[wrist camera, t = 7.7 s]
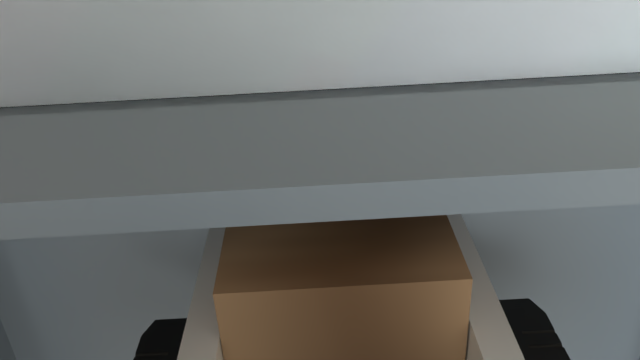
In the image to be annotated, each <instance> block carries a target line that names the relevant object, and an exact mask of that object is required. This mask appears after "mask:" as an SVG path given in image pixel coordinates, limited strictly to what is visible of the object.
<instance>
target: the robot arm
mask: <svg viewBox="0 0 640 360" xmlns="http://www.w3.org/2000/svg"><path fill="white" fill-rule="evenodd" d="M447 217H448V219H449V222H450V224H451V227H452V229H453V232H454V234H455V236H456V239H457V241H458V244H459V246H460V249H461V251H462V254H463V256H464V259H465V261H466V264H467V266H468V269H469V271H470V273H471V276H472V278H473V282H472V293H471V303H470V314H469V325H468V335H467V346H466V356H465V360H570V358H569V356H568V354H567V352H566V350H565V348H564V347H562V343H561V341H560V339H559V337H558V335H557V333H555V329H554V327H553V326H552V324H551V322H550V320H549V318H548V316H547V314H546V313H545V312H544V311H543V310H542V309H541V308H540V307H539V306H537V305H536V304H535V303H534V302H533V301H532V300H530V299H529V298H525V299H506V300H499V299H498V297H497V295H496V293H495V290H494V288H493V286H492V284H491V281H490V279H489V277H488V274H487V272H486V270H485V268H484V265H483V263H482V261H481V258H480V256H479V254H478V252H477V249H476V247H475V245H474V243H473V240H472V238H471V236H470V233H469V231H468V229H467V227H466V224H465V222H464V220H463V217H462V215H461V214H453V215H447ZM225 228H226V227H222V228H209V232H208V236H207V240H206V244H205V248H204V252H203V256H202V260H201V264H200V268H199V272H198V276H197V280H196V284H195V288H194V292H193V296H192V300H191V304H190V308H189V312H188V316H187V318H178V319H159V320H155V321H154V322H153V323H152V324H151V325H150V326H149V327H148V329H147V330H146V331H145V332H144V333H143V334H142V335H141V338H140V341H139V344H138V347H137V350H136V353H135V357H134V359H133V360H224V357H223V351H222V345H221V340H220V334H219V328H218V322H217V317H216V311H215V305H214V299H213V290H214V285H215V279H216V274H217V269H218V264H219V259H220V254H221V248H222V243H223V238H224V233H225Z"/></svg>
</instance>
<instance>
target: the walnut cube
mask: <svg viewBox="0 0 640 360" xmlns="http://www.w3.org/2000/svg"><path fill="white" fill-rule="evenodd" d="M472 282H473V278H472V276H471V273H470V271H469V269H468V266H467V264H466V261H465V259H464V256H463V254H462V251H461V249H460V246H459V244H458V241H457V239H456V236H455V234H454V232H453V229H452V227H451V224H450V222H449V219H448V217H447V215H435V216H418V217H400V218H382V219H364V220H346V221H329V222H311V223H293V224H275V225H257V226H240V227H226V228H225V233H224V238H223V243H222V248H221V254H220V259H219V264H218V269H217V274H216V279H215V285H214V290H213V299H214V305H215V311H216V317H217V322H218V328H219V334H220V340H221V345H222V351H223V357H224V360H465V356H466V346H467V335H468V325H469V314H470V303H471V293H472Z"/></svg>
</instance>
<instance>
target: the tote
mask: <svg viewBox="0 0 640 360" xmlns="http://www.w3.org/2000/svg"><path fill="white" fill-rule="evenodd" d="M453 214H461V215H462V217H463V220H464V222H465V224H466V227H467V229H468V231H469V233H470V236H471V238H472V240H473V243H474V245H475V247H476V249H477V252H478V254H479V256H480V258H481V261H482V263H483V265H484V268H485V270H486V272H487V274H488V277H489V279H490V281H491V284H492V286H493V288H494V290H495V293H496V295H497V297H498V299H499V300H506V299H525V298H529V299H530V300H532V301H533V302H534V303H535V304H536V305H537V306H539V307H540V308H541V309H542V310H543V311H544V312H545V313H546V314H547V316H548V318H549V320H550V322H551V324H552V326H553V327H554V329H555V333H557V335H558V337H559V339H560V341H561V343H562V347H564V348H565V350H566V352H567V354H568V356H569V358H570V360H640V73H622V74H604V75H586V76H568V77H550V78H531V79H513V80H495V81H477V82H459V83H441V84H423V85H405V86H386V87H368V88H350V89H332V90H314V91H296V92H278V93H260V94H241V95H223V96H205V97H187V98H169V99H151V100H133V101H115V102H96V103H78V104H60V105H42V106H24V107H6V108H0V360H133V359H134V357H135V353H136V350H137V347H138V344H139V341H140V338H141V335H142V334H143V333H144V332H145V331H146V330H147V329H148V327H149V326H150V325H151V324H152V323H153V322H154V321H155V320H159V319H178V318H187V316H188V312H189V308H190V304H191V300H192V296H193V292H194V288H195V284H196V280H197V276H198V272H199V268H200V264H201V260H202V256H203V252H204V248H205V244H206V240H207V236H208V232H209V228H222V227H240V226H257V225H275V224H293V223H311V222H329V221H346V220H364V219H382V218H400V217H418V216H435V215H453Z"/></svg>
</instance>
